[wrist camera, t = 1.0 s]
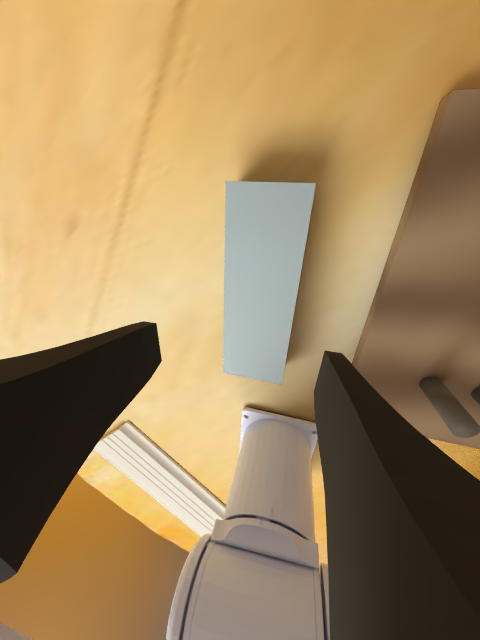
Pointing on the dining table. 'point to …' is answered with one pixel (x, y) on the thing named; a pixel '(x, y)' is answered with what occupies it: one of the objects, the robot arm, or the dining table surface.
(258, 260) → the pale grey block
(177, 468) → the baseboard molding
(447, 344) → the brown slab
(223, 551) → the robot arm
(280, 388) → the dining table surface
